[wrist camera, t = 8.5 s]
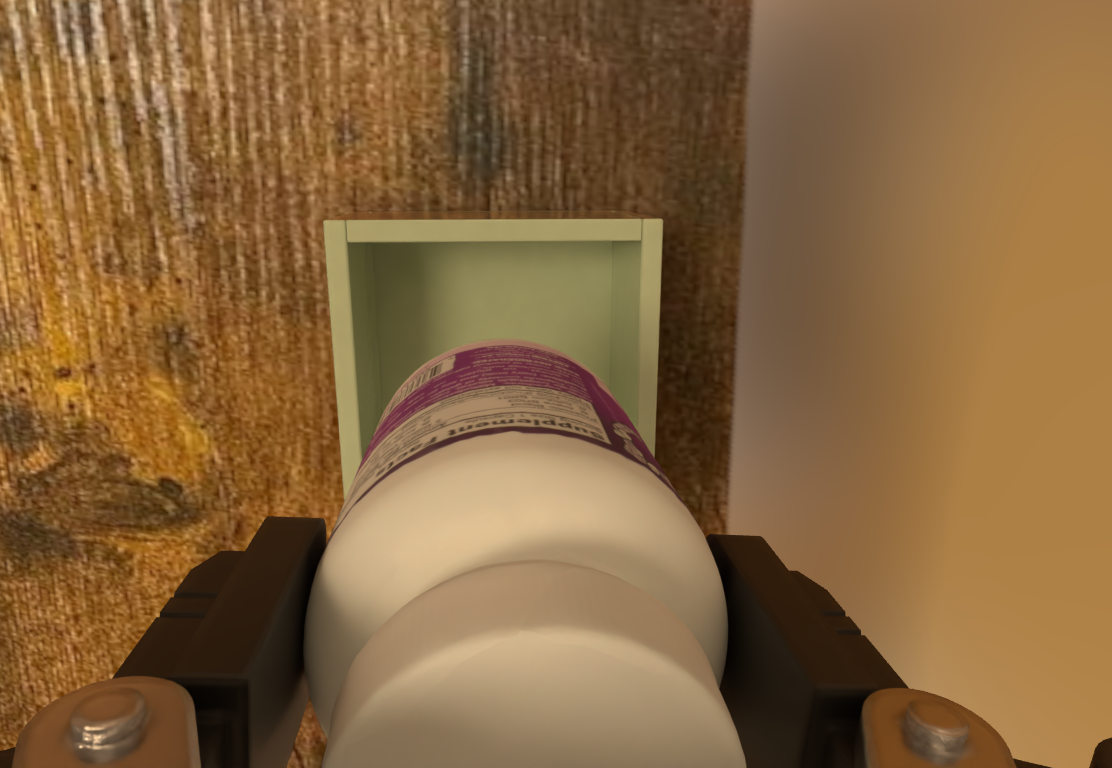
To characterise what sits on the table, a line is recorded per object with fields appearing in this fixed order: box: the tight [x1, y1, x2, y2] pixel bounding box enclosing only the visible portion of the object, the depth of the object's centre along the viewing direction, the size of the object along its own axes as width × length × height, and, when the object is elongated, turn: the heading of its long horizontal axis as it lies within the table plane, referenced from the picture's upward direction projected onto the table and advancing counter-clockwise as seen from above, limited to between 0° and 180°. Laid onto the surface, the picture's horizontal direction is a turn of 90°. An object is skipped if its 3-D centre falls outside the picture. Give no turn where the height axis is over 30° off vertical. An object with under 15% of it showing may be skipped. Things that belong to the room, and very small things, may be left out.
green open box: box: [323, 210, 663, 502], centre depth 25 cm, size 9×9×6 cm
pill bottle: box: [303, 339, 747, 768], centre depth 11 cm, size 5×5×10 cm
